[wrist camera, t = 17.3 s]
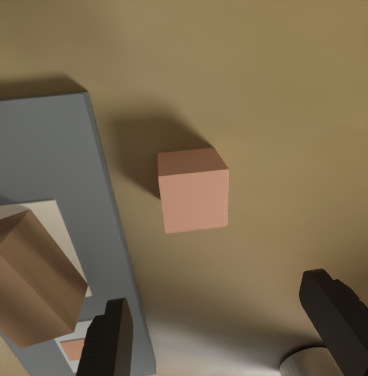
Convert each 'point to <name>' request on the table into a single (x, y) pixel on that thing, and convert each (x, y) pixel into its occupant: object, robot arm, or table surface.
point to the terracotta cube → (193, 189)
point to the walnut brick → (36, 283)
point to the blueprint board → (69, 217)
